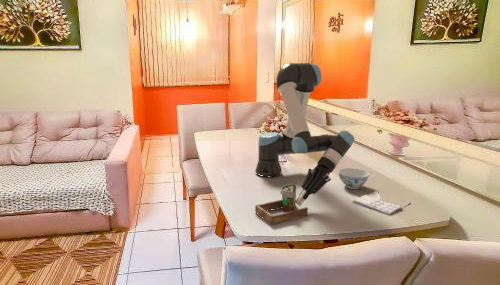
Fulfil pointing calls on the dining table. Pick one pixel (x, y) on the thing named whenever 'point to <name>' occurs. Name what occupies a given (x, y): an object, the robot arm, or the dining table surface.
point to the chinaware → (353, 177)
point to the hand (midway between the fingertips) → (297, 203)
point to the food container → (288, 197)
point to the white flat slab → (376, 203)
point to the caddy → (279, 218)
